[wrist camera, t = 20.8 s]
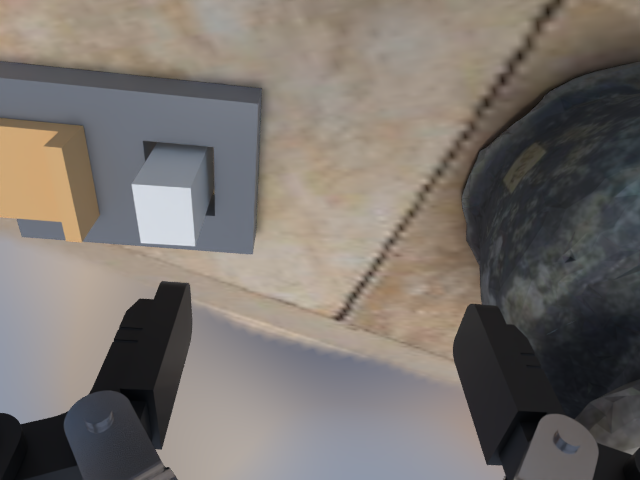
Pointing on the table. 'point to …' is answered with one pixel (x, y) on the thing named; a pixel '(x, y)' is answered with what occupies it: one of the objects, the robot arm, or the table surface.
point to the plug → (173, 193)
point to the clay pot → (570, 244)
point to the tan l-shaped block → (47, 175)
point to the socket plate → (146, 144)
